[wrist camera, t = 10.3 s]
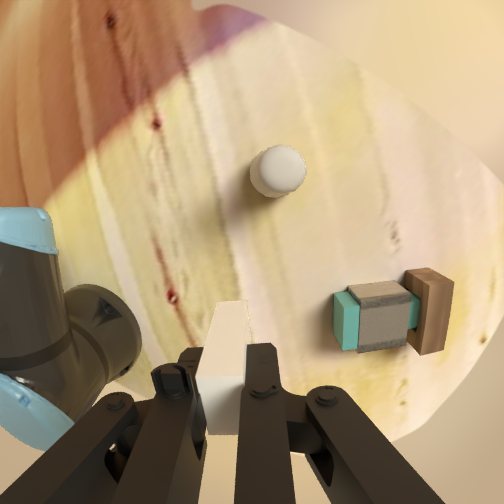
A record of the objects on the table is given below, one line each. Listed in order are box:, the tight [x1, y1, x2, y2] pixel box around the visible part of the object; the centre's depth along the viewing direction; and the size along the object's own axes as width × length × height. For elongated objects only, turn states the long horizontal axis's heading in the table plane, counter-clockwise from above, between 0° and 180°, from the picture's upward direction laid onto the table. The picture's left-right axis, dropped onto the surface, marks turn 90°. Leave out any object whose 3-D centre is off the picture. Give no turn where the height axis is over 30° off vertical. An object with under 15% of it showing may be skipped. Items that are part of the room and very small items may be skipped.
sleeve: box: [348, 281, 411, 353], centre depth 39 cm, size 7×7×6 cm
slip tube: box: [333, 290, 420, 351], centre depth 39 cm, size 14×6×5 cm, turn 95°
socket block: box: [405, 268, 454, 356], centre depth 38 cm, size 4×10×7 cm, turn 5°
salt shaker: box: [249, 145, 306, 198], centre depth 31 cm, size 6×6×13 cm
